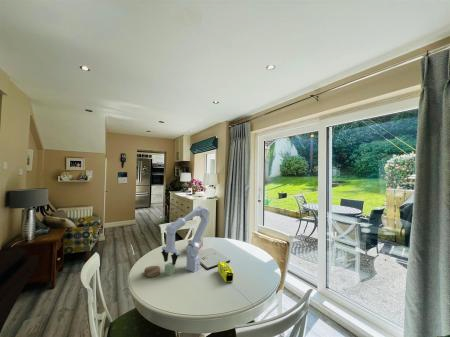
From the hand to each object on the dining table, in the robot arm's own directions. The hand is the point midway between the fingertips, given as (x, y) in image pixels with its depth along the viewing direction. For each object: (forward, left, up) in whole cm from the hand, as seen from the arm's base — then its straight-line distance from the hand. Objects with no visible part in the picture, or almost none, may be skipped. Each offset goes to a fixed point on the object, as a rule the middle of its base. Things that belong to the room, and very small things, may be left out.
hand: (169, 262), depth 135 cm
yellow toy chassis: (-33, -18, -8) cm, 38 cm away
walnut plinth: (+9, +7, -7) cm, 13 cm away
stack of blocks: (+11, -40, -7) cm, 42 cm away
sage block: (0, 0, -7) cm, 7 cm away
